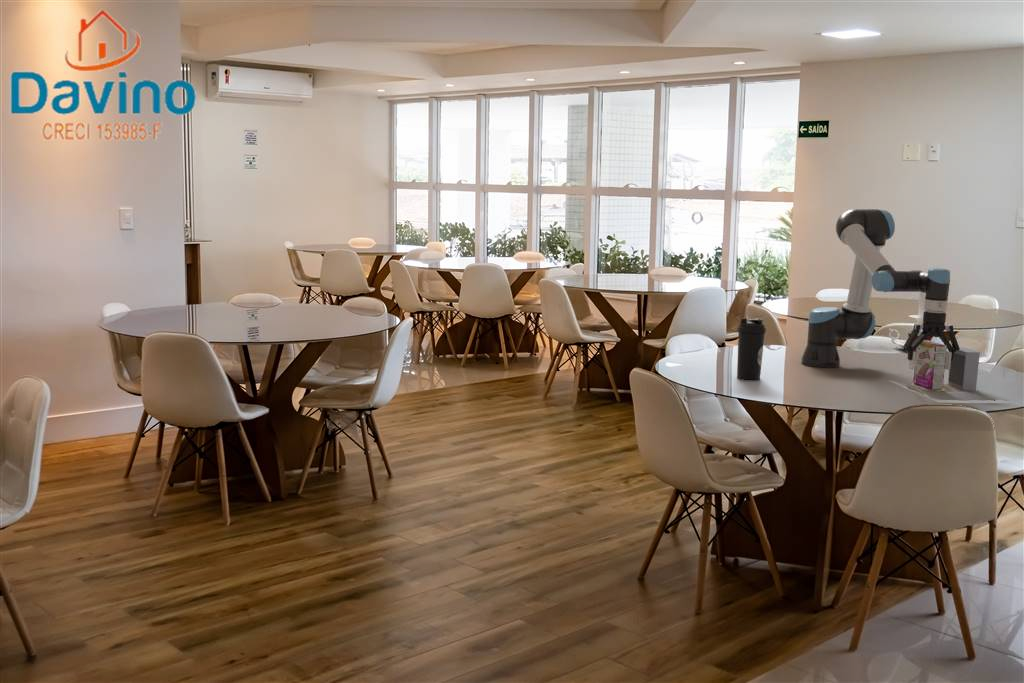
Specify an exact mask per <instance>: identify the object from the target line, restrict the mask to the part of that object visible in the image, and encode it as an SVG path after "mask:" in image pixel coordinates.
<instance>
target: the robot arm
mask: <svg viewBox="0 0 1024 683" xmlns="http://www.w3.org/2000/svg"><path fill="white" fill-rule="evenodd" d="M895 227H896V224H895V220H894V217H893V215H892V214H891V212H889V210H884V209H878V208H877V209H873V208H872V209H871V208H869V209H868V208H867V209H862V208H861V209H858V208H854V209H849V210H846V211H844V212H843V213H842V214H841V215H840V216H838V219H837V220H836V224H835V231H836V232H835V233H836V235H837V237H838V238H839V240H840V241H841V243H842V244H844V245H847V246H848V247H849V248H850V250H851V251H852V252H853V254H854V255H855V258H854V264H853V269H852V275H851V278H850V279H851V280H850V282H849V284H850V285H849V288H848V296H847V300H846V301H845V302H844V303H843V304H842V305H841V310H840V308H838V307H834V306H824V307H816V308H814V309H812V310H811V311H810V312H809V316H808V321H807V322H808V327H807V328H808V329H807V343H806V344H807V345H806V347H805V349H804V351H803V354H802V357H801V361H800V362H801V364H802V365H805V366H810V367H816V368H817V367H818V368H838V367H840V365H841V364H840V363H841V360H840V355H839V351H838V340H860V339H866V338H868V337H870V336H871V335H872V333H873V332H874V329H875V327H876V319H875V318H876V317H875V316H876V315H875V314H874V312H872V308H871V306H870V300H871V297H872V296H871V295H872V291H873V290H874V291H877V292H883V293H891V292H893V293H896V292H899V293H900V292H901V293H902V292H906V293H908V292H909V293H910V292H911V293H912V292H915V293H917V292H918V293H920V292H924V293H926V296H925V305H924V309H925V310H926V311H924V315H923V325H918V324H917V323H914V324H913V328H912V329H913V330H911V331H912V333H911V334H910V336H908V338H907V341H906V343H905V344H904V346H903V349H904V350H905V351H907V360H908V369H910V370H913V371H914V370H915V357H916V352H915V351H914V350H915V349H916V348H917V347H918V346H919V345H920V344H921V343H922V342H923V341H924V339H926V338H927V337H933V338H939V339H940V340H941V342H942V344H943V345H947V349H946V360H945V370H947V371H949V370H950V365H951V361H952V360H953V355H954V353H955V352H956V351H957V350H959V349H960V348H961V347H960V346H959V343H958V341H957V338H956V336H955V335H956V334H955V332H954V325H952V324H950V323H949V324H945V323H946V321H947V320H946V319H947V309H948V299H949V292H950V284H951V271H950V270H949V269H947V268H941V267H940V268H939V267H938V268H935V267H931V268H929V269H928V271H922V270H915V269H914V270H906V271H905V270H904V271H903V270H901V271H900V270H895V268H894V267H893V266H892V265H891V264H890V263H889V261H888V260H887V258H886V257H885V256H884V255H883V254H882V253H881V251H880V250H881V249H882V248H884V247H885V246H886V242H887V240H890V239H891V238H892V237H893V236H894V235H895V234H894V233H895V231H896V230H895ZM921 329H922V330H923V331H922V333H921V334H920V336H919V337H918V338H917V339H916V340H915V338H916V337H917V335H918V333H919V331H920V330H921ZM944 331H946V333H947V335H948V336H946V334H945V333H944ZM947 337H948V338H949V339H948V338H947ZM914 340H915V341H914Z"/></svg>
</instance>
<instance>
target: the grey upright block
mask: <svg viewBox="0 0 1024 683" xmlns="http://www.w3.org/2000/svg"><path fill="white" fill-rule="evenodd" d="M959 348H960V349H959V350H957V351H956V352H955V353H954V355H953V360H952V361H951V365H950V370H948V378H947V379H948V383H947V384H948V385H950V386H953V387H955V388H958V389H960V390H977V382H978V375H979V374H978V373H979V363H980V354H981V353H980V352H979V351H977V350H973V349H969V348H967V347H959Z"/></svg>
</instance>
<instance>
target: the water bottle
mask: <svg viewBox="0 0 1024 683" xmlns="http://www.w3.org/2000/svg"><path fill="white" fill-rule="evenodd" d="M763 321H764V318H759V317H758V318H749V319H748V318H747V317H745V316H743V318H741V320H740V323H739V324H738V325H737V333H738V340H737V363H736V364H737V370H736V371H737V372H736V378H737V379H738V380H741V381H746V382H747V381H750V382H753V381H754V382H755V381H756V382H757V381H760V379H761V373H762V363H763V352H764V342H765V340H764V339H765V334H766V332H767V331H766V330H767V328H766V327H765V324H764V323H763Z"/></svg>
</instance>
